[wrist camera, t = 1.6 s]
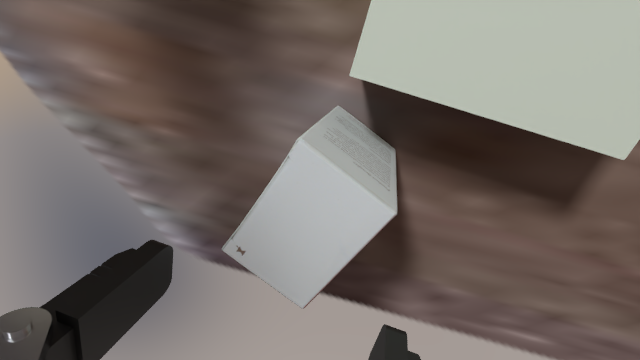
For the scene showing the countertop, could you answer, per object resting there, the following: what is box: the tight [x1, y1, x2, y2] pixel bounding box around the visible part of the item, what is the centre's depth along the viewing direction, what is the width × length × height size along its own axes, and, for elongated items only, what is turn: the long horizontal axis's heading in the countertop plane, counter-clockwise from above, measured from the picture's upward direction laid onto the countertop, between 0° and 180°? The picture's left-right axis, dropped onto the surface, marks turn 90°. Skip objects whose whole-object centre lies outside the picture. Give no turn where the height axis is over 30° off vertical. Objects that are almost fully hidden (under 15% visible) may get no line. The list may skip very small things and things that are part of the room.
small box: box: [222, 106, 397, 308], centre depth 20 cm, size 8×6×10 cm
